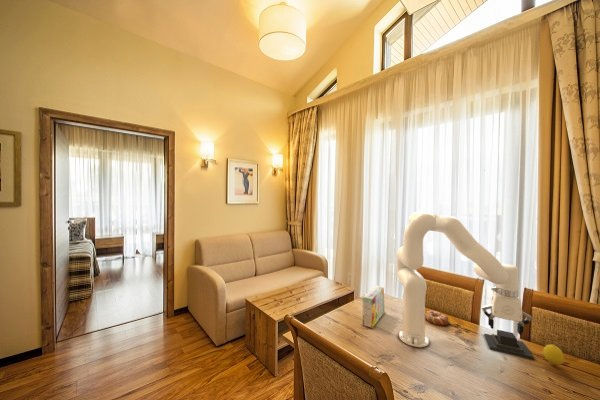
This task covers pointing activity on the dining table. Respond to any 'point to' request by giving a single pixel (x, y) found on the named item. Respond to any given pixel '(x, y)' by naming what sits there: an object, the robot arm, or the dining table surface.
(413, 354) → the dining table surface
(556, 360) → the lemon
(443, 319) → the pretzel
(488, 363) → the dining table surface
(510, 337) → the black block
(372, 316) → the snack box
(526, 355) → the base pad
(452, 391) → the dining table surface
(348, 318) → the dining table surface
